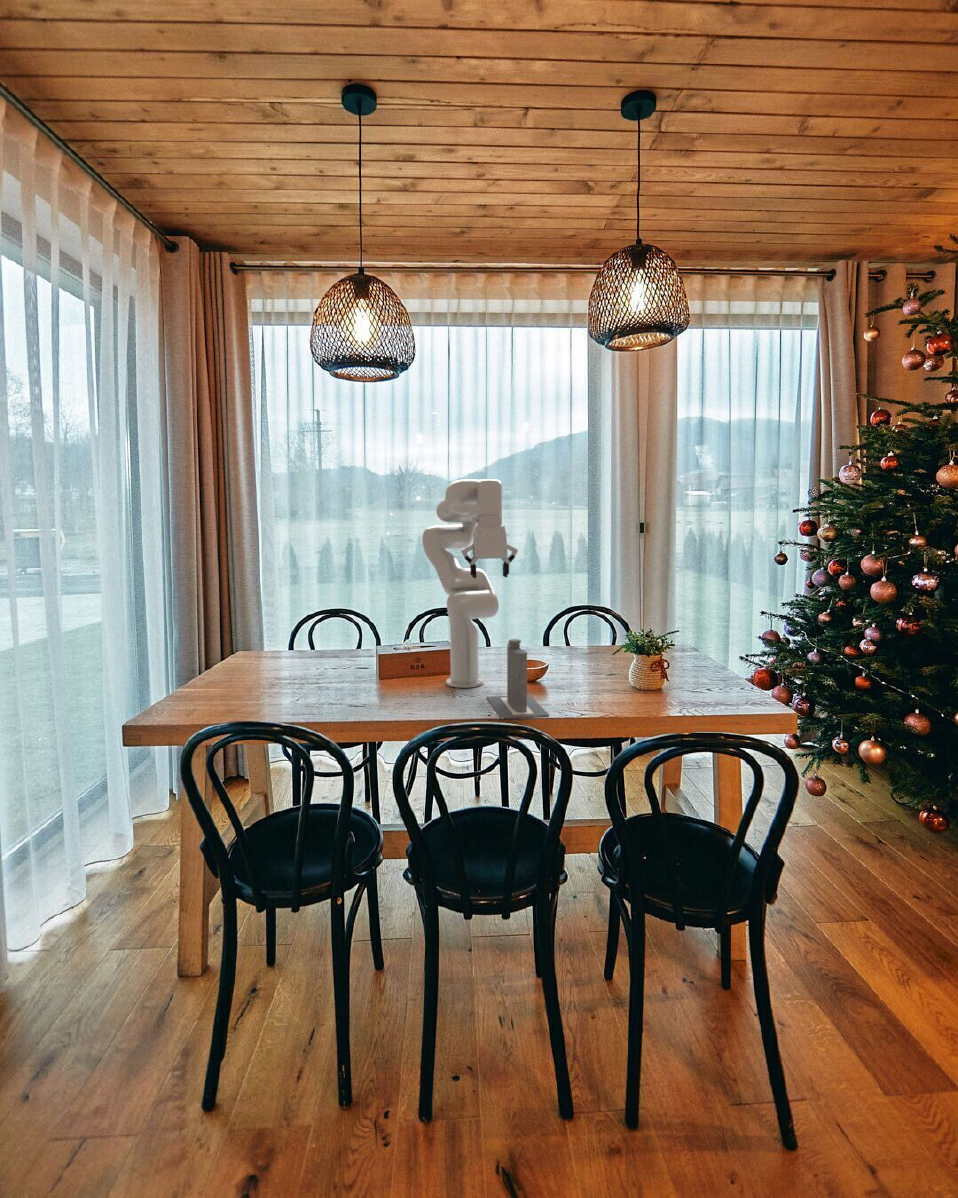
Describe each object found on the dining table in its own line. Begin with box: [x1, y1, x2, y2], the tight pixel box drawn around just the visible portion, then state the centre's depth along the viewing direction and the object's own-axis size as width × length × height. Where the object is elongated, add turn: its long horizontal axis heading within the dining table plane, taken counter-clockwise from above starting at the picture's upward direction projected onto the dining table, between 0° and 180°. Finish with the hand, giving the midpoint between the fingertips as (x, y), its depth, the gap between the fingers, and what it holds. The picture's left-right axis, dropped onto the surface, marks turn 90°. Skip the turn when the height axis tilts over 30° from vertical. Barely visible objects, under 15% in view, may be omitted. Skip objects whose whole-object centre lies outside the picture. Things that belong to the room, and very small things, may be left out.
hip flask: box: [506, 638, 528, 713], centre depth 206 cm, size 16×4×20 cm, turn 9°
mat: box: [486, 694, 550, 720], centre depth 207 cm, size 22×14×1 cm, turn 10°
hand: (489, 577), depth 211 cm, fingers open, 9 cm apart
